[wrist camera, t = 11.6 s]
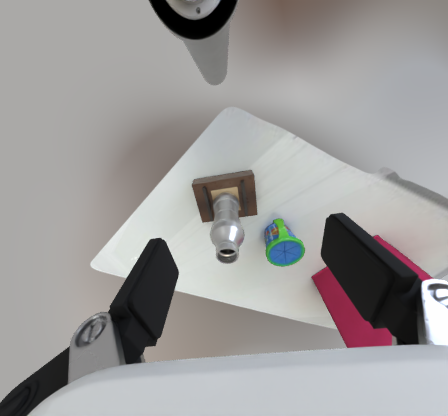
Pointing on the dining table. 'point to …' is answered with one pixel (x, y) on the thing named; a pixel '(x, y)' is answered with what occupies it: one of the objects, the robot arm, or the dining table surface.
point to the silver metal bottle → (226, 228)
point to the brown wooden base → (231, 183)
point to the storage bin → (347, 313)
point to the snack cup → (282, 245)
